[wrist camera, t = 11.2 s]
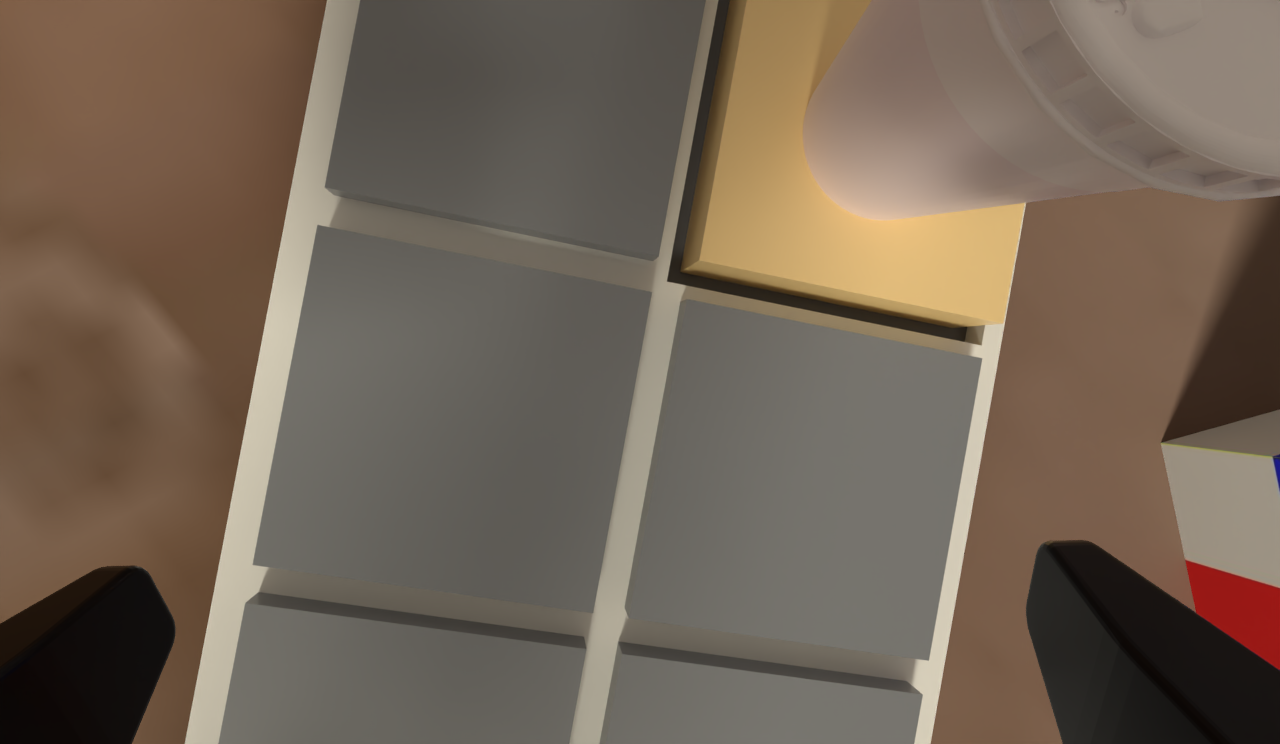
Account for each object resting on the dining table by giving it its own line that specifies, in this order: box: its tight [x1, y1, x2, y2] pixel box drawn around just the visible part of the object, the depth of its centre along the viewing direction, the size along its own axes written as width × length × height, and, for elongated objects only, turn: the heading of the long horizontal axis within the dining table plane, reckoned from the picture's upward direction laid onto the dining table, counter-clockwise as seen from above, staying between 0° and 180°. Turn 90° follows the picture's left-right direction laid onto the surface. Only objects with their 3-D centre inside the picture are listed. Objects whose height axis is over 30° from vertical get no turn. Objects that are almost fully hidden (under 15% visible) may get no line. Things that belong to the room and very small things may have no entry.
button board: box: [185, 0, 1026, 744], centre depth 18 cm, size 25×17×2 cm
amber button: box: [680, 0, 1025, 328], centre depth 19 cm, size 7×7×2 cm
